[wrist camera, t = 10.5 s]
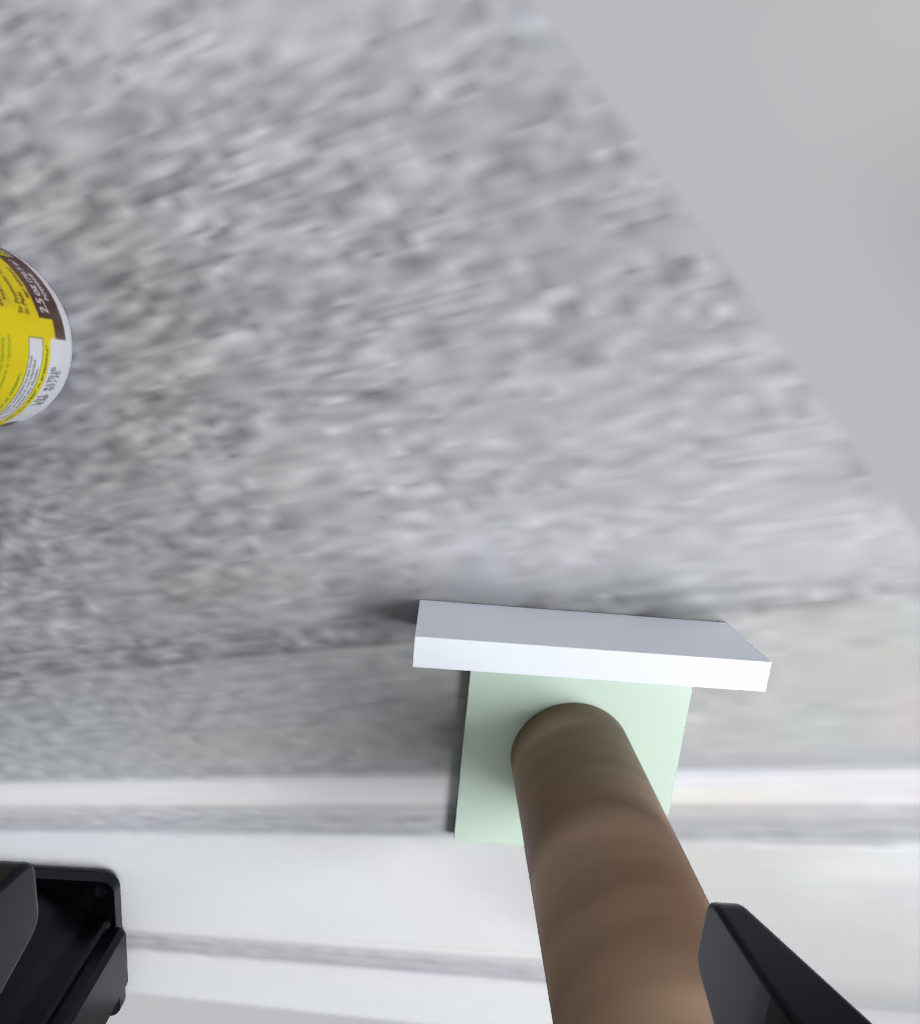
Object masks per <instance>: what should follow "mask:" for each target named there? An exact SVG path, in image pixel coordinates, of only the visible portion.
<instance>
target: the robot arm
mask: <svg viewBox="0 0 920 1024" xmlns="http://www.w3.org/2000/svg"><path fill="white" fill-rule="evenodd" d="M104 888H105V889H104ZM698 965H699V971H700V975H701V978H702V982H703V986H704V989H705V993H706V996H707V1000H708V1004H709V1007H710V1011H711V1015H712V1018H713V1022H714V1024H872V1023H871V1022H870V1021H869V1020H868V1019H867V1018H865V1017H864V1016H863V1015H862V1014H861V1013H860V1012H859V1011H858V1010H857V1009H856V1008H854V1007H853V1006H852V1005H851V1004H850V1003H849V1002H848V1001H847V1000H846V999H845V998H844V997H842V996H841V995H840V994H839V993H838V992H837V991H836V990H835V989H834V988H833V987H831V986H830V985H829V984H828V983H827V982H826V981H825V980H824V979H823V978H822V977H821V976H819V975H818V974H817V973H816V972H815V971H814V970H813V969H812V968H811V967H810V966H808V965H807V964H806V963H805V962H804V961H803V960H802V959H801V958H800V957H799V956H797V955H796V954H795V953H794V952H793V951H792V950H791V949H790V948H789V947H788V946H787V945H785V944H784V943H783V942H782V941H781V940H780V939H779V938H778V937H777V936H776V935H774V934H773V933H772V932H771V931H770V930H769V929H768V928H767V927H766V926H765V925H763V924H762V923H761V922H760V921H759V920H758V919H757V918H756V917H755V916H754V915H753V914H751V913H750V912H749V911H748V910H747V909H746V908H744V907H743V906H741V905H739V904H735V903H719V902H714V903H711V904H710V905H709V906H708V908H707V911H706V914H705V919H704V924H703V928H702V933H701V937H700V942H699V946H698ZM127 982H128V970H127V950H126V933H125V931H124V929H123V927H122V915H121V895H120V883H119V880H118V879H117V878H116V877H115V876H114V875H112V874H108V873H96V872H78V871H61V870H43V869H34V868H33V866H32V865H31V864H30V863H27V862H12V861H0V1024H106V1022H107V1020H108V1018H109V1017H110V1016H112V1015H115V1014H117V1013H118V1011H119V1010H120V1008H121V1006H122V1005H123V1003H124V1001H125V997H126V995H125V986H126V985H127Z"/></svg>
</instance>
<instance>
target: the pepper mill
mask: <svg viewBox="0 0 920 1024" xmlns="http://www.w3.org/2000/svg"><path fill="white" fill-rule="evenodd" d="M511 768H512V774H513V780H514V786H515V792H516V798H517V804H518V811H519V817H520V823H521V829H522V835H523V841H524V848H525V854H526V860H527V866H528V872H529V878H530V884H531V891H532V897H533V903H534V909H535V915H536V921H537V928H538V934H539V940H540V946H541V952H542V958H543V965H544V971H545V977H546V983H547V989H548V995H549V1001H550V1008H551V1014H552V1020H553V1024H714V1022H713V1018H712V1015H711V1011H710V1007H709V1004H708V1000H707V996H706V993H705V989H704V986H703V982H702V978H701V975H700V971H699V965H698V946H699V942H700V937H701V933H702V928H703V924H704V919H705V914H706V911H707V908H708V906H709V905H710V904H709V901H708V899H707V897H706V895H705V893H704V891H703V889H702V887H701V885H700V883H699V881H698V879H697V877H696V875H695V873H694V871H693V869H692V867H691V865H690V863H689V861H688V859H687V857H686V855H685V853H684V851H683V849H682V847H681V845H680V843H679V841H678V839H677V837H676V835H675V832H674V830H673V828H672V826H671V824H670V822H669V820H668V818H667V816H666V814H665V812H664V810H663V808H662V806H661V804H660V802H659V800H658V798H657V796H656V794H655V792H654V790H653V788H652V786H651V784H650V782H649V780H648V778H647V776H646V774H645V772H644V770H643V768H642V766H641V763H640V761H639V759H638V757H637V755H636V753H635V751H634V749H633V747H632V745H631V743H630V741H629V739H628V737H627V735H626V733H625V731H624V729H623V728H622V726H621V725H620V724H619V722H618V721H617V720H616V719H615V718H614V717H613V716H611V715H610V714H609V713H607V712H606V711H604V710H602V709H600V708H597V707H595V706H592V705H588V704H582V703H565V704H559V705H555V706H552V707H549V708H547V709H545V710H543V711H541V712H539V713H537V714H536V715H534V716H533V717H532V718H530V719H529V720H528V721H527V722H526V723H525V724H524V725H523V726H522V728H521V729H520V731H519V732H518V734H517V736H516V738H515V740H514V742H513V745H512V750H511Z"/></svg>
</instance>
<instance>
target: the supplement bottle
mask: <svg viewBox="0 0 920 1024" xmlns="http://www.w3.org/2000/svg"><path fill="white" fill-rule="evenodd" d="M71 361H72V337H71V330H70V326H69V323H68V319H67V316H66V314H65V311H64V309H63V307H62V304H61V303H60V301H59V299H58V297H57V296H56V294H55V293H54V291H53V290H52V288H51V287H50V286H49V284H48V283H47V282H46V281H45V280H44V279H43V277H42V276H41V275H40V274H39V273H38V272H37V271H36V270H35V269H33V268H32V267H31V266H30V265H29V264H27V263H26V262H25V261H24V260H22V259H20V258H19V257H17V256H16V255H14V254H13V253H11V252H9V251H7V250H5V249H3V248H1V247H0V426H7V425H12V424H16V423H19V422H22V421H25V420H27V419H29V418H31V417H33V416H35V415H37V414H38V413H40V412H41V411H42V410H44V409H45V408H46V407H47V406H49V405H50V404H51V403H52V401H53V400H54V399H55V398H56V397H57V395H58V394H59V393H60V391H61V389H62V388H63V386H64V384H65V382H66V379H67V377H68V374H69V370H70V366H71Z"/></svg>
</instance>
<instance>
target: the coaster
mask: <svg viewBox="0 0 920 1024" xmlns="http://www.w3.org/2000/svg"><path fill="white" fill-rule="evenodd" d="M691 692H692V686H678V685H664V684H650V683H635V682H621V681H607V680H593V679H579V678H565V677H550V676H536V675H522V674H508V673H494V672H479V671H470V676H469V686H468V696H467V707H466V717H465V727H464V737H463V747H462V757H461V768H460V778H459V788H458V798H457V808H456V818H455V828H454V842H470V843H487V844H503V845H520V846H524V841H523V835H522V829H521V823H520V817H519V811H518V804H517V798H516V792H515V786H514V780H513V774H512V768H511V750H512V745H513V742H514V740H515V738H516V736H517V734H518V732H519V731H520V729H521V728H522V726H523V725H524V724H525V723H526V722H527V721H528V720H529V719H530V718H532V717H533V716H534V715H536V714H537V713H539V712H541V711H543V710H545V709H547V708H549V707H552V706H555V705H559V704H565V703H582V704H588V705H592V706H595V707H597V708H600V709H602V710H604V711H606V712H607V713H609V714H610V715H611V716H613V717H614V718H615V719H616V720H617V721H618V722H619V724H620V725H621V726H622V728H623V729H624V731H625V733H626V735H627V737H628V739H629V741H630V743H631V745H632V747H633V749H634V751H635V753H636V755H637V757H638V759H639V761H640V763H641V766H642V768H643V770H644V772H645V774H646V776H647V778H648V780H649V782H650V784H651V786H652V788H653V790H654V792H655V794H656V796H657V798H658V800H659V802H660V804H661V806H662V808H663V810H664V812H665V814H666V816H667V818H668V812H669V807H670V802H671V797H672V792H673V786H674V781H675V776H676V771H677V765H678V760H679V755H680V750H681V744H682V739H683V734H684V729H685V724H686V718H687V713H688V708H689V703H690V697H691Z"/></svg>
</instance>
